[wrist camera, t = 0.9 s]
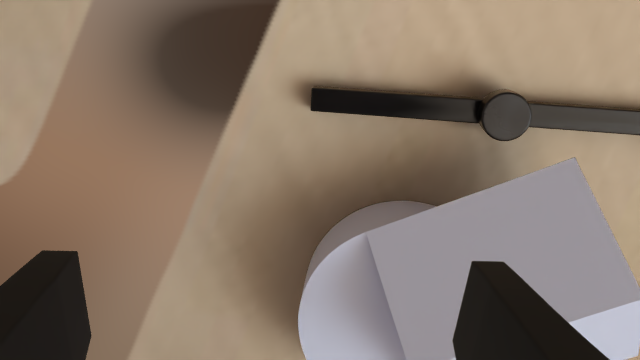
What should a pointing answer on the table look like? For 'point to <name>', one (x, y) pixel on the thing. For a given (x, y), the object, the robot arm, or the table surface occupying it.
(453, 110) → the frame
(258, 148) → the table surface
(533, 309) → the robot arm
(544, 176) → the wedge on round base
